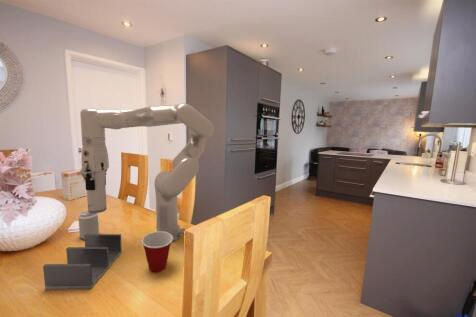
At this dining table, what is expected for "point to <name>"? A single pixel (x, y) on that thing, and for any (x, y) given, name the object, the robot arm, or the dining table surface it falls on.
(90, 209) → the travel mug
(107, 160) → the robot arm
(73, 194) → the coffeecake box
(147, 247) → the plastic cup
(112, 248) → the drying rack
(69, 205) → the dining table surface
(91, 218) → the can
